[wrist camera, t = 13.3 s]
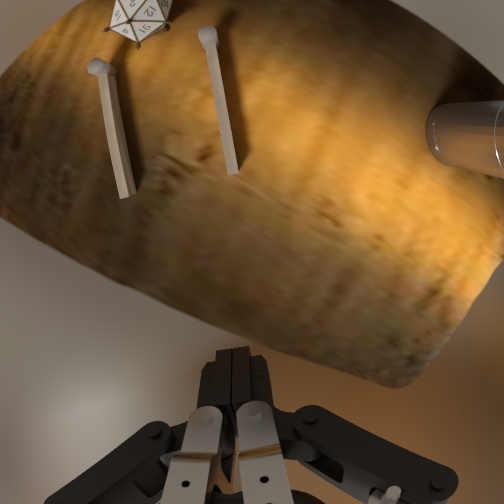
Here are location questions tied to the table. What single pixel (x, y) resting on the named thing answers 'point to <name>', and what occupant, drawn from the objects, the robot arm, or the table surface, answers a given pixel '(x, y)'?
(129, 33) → the game die
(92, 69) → the chute
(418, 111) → the table surface
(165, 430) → the robot arm
